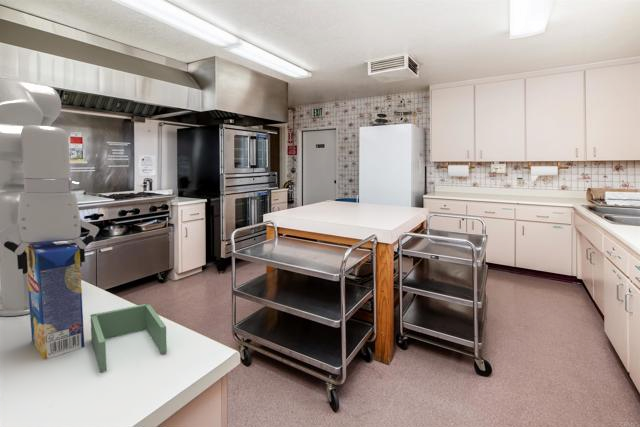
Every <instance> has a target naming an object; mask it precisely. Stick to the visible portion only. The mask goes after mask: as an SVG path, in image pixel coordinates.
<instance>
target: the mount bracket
mask: <svg viewBox="0 0 640 427" xmlns="http://www.w3.org/2000/svg"><path fill="white" fill-rule="evenodd" d="M90 330H91V342H92V346H93V350H94V354H95V357H96V361H97V364H98V368H99V372H100V373H102V372H106V371H107V351H106V350H107V348H106V347H107V346H106V339H111V338H113V337H114V338H115V337H118V336H122V335H127V334H130V333H135V332H138V331H143V330H146V331H147V333H148V335H149V336H150V337H152V338H151V339H152V340H153V342H154V345H155V346H156V347H157V349H158V351H159V352H160V355H164V354H167V352H168V350H167V325H166V324H165V323H164V322H163V320H162V318H161V317H160V316H159V315H158V313H157V312H156V311H155V309H154V308H153V307H152V305H151V304H150V302H149V303H144V304H137V305H133V306H130V307H129V306H128V307H122V308H118V309H113V310H108V311H104V312H103V311H102V312H97V313H93V314H90Z"/></svg>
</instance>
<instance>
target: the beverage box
mask: <svg viewBox="0 0 640 427" xmlns="http://www.w3.org/2000/svg"><path fill="white" fill-rule="evenodd" d="M26 252H27V263H28V273H27V277H28V291H29V305H30V314H29V315H30V316H29V317H30V329H31V330H30V333H31V342H32V343H33V344H34V346H35V347H36V349H37V350H38V352H39V353H40V355H41V356H42V358H43V359H44V360H49V359H51V358H54V357H58V356H60V355H64V354H68V353H71V352H73V351H77V350H80V349H82V348H85V334H84V330H85V329H84V314H83V313H84V312H83V310H84V309H83V295H82V293H83V292H82V274H81V272H82V271H81V270H82V269H81V267H80V248H78V247H77V245H74V244H72V243H71V242H69V241H57V242H45V243H31V244H30V245H29V246H28V247H27V248H26Z"/></svg>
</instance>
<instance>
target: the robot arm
mask: <svg viewBox="0 0 640 427" xmlns="http://www.w3.org/2000/svg"><path fill="white" fill-rule="evenodd" d="M61 110H62V101H61V97H60V94H59V93H58V92H57V90H56V89H55V88H53V87H52V86H50V85H47V84H44V83H38V82H32V81H27V80H21V79H18V78H17V79H16V78H11V77H10V78H9V77H8V78H7V77H0V191H1V192H0V294H1V296H0V297H1V302H0V316H1V317H17V316H24V315H30V305H29V291H28V277H27V273H28V263H27V252H26V248H27V247H28V246H29V245H30V244H31V243H45V242H57V241H67V242H69V241H72V242H74V243H75V246H76V247H78V248H80V268H82V263H85V262H86V255H85V252H86V251H85V249H86V247H87V246H88V245H89V244H91V243H92V242H93V241H94V239H95V237H96V236H97V234H99V231H100V228H99V227H98V226H96V225H94V224H92V223H90V222H87V221H86V220H85V221H84V220H82V219H81V217H80V211H79V208H80V207H79V205H78V204H79V203H78V199H77V195H76V193H74V192H73V193H72V190H75V189H80V182H78V181H73V180H72V179H71V164H70V162H71V161H70V146H69V145H70V143H69V135H68V132H67V131H66V130H65V129H64V128H61V127H57V126H51V125H52V124H53V122H55V121H56V119H57V118H58V117H59V115H60V114H61ZM81 228H84V229H86V230H87V231H88V230H89V232H88V234H87V235H86V236H85V237H84V238H81V234H82V231H81V230H82V229H81Z"/></svg>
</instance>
